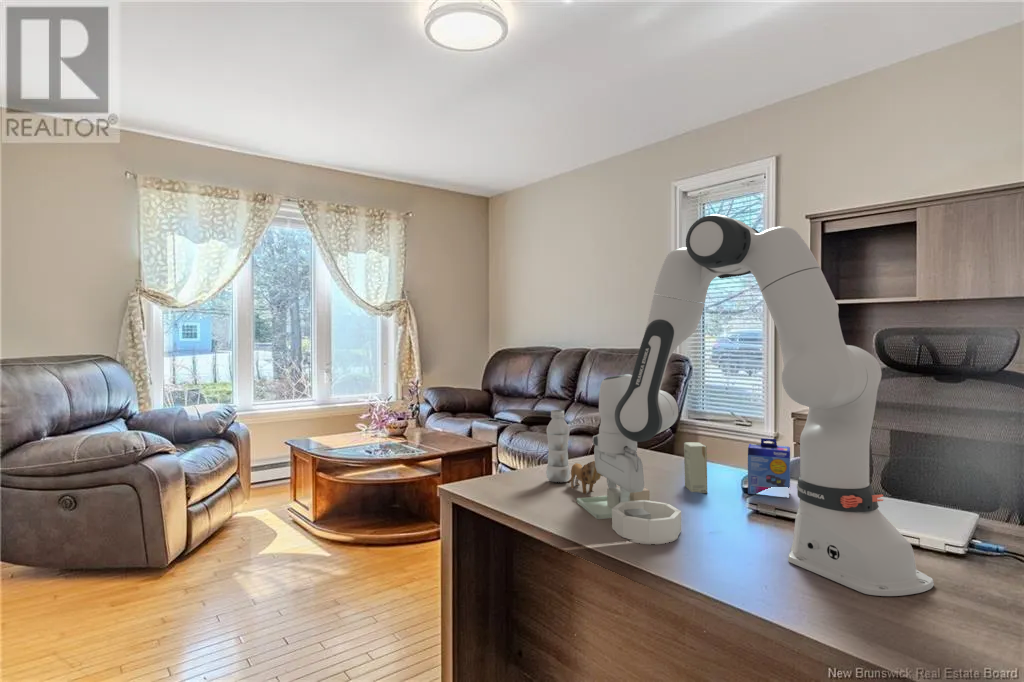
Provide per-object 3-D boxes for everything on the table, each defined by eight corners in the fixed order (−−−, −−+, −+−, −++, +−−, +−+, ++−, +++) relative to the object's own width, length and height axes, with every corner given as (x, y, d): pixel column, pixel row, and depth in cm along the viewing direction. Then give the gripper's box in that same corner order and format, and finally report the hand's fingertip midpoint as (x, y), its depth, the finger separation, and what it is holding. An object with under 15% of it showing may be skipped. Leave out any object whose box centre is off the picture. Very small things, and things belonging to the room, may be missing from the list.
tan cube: (649, 507, 133) (649, 490, 133) (634, 508, 133) (633, 491, 132) (641, 502, 137) (641, 485, 137) (626, 503, 136) (626, 487, 136)
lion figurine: (608, 496, 144) (608, 461, 144) (592, 499, 142) (591, 464, 142) (573, 483, 157) (573, 451, 157) (558, 486, 154) (557, 453, 154)
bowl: (691, 540, 113) (691, 516, 113) (631, 547, 110) (631, 523, 110) (659, 519, 126) (659, 498, 126) (604, 525, 123) (604, 503, 123)
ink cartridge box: (747, 494, 144) (747, 438, 144) (748, 489, 149) (748, 434, 149) (790, 499, 140) (790, 440, 140) (790, 493, 145) (790, 437, 145)
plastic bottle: (554, 477, 163) (553, 408, 163) (574, 481, 159) (573, 410, 159) (541, 482, 158) (541, 411, 158) (562, 486, 154) (562, 413, 154)
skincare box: (708, 493, 145) (707, 446, 145) (691, 493, 145) (690, 446, 145) (700, 486, 152) (699, 441, 152) (683, 487, 152) (683, 441, 152)
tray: (663, 514, 129) (663, 508, 129) (597, 521, 125) (597, 515, 125) (637, 498, 142) (637, 492, 142) (576, 503, 138) (576, 498, 138)
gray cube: (650, 533, 116) (650, 513, 116) (632, 535, 115) (632, 515, 115) (641, 526, 120) (641, 508, 120) (624, 528, 119) (624, 509, 119)
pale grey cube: (630, 508, 132) (629, 491, 132) (614, 510, 131) (614, 493, 131) (622, 503, 136) (622, 487, 136) (607, 505, 135) (607, 488, 135)
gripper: (651, 450, 124) (651, 513, 124) (612, 434, 144) (613, 488, 144) (624, 452, 123) (625, 516, 123) (589, 436, 143) (590, 490, 143)
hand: (618, 501), depth 134 cm, fingers closed on pale grey cube, 4 cm apart
